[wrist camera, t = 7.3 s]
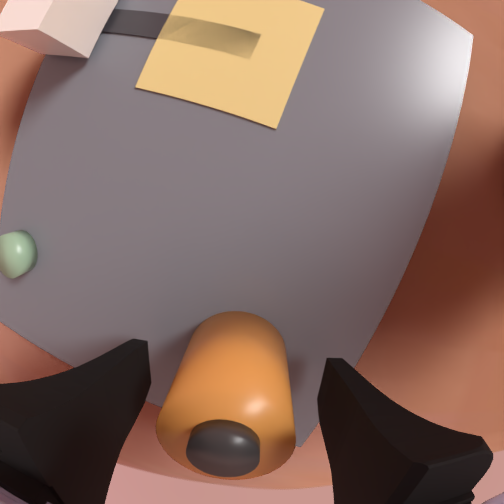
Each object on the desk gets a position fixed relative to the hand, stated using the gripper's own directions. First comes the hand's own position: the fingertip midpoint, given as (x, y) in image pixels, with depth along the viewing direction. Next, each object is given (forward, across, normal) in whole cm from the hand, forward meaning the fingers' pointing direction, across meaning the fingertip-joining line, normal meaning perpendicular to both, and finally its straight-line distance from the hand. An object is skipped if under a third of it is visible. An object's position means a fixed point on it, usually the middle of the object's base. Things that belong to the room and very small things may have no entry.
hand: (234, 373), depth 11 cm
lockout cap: (+1, 0, 0) cm, 1 cm away
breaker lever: (+1, +8, -14) cm, 16 cm away
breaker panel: (+4, +2, -7) cm, 9 cm away
